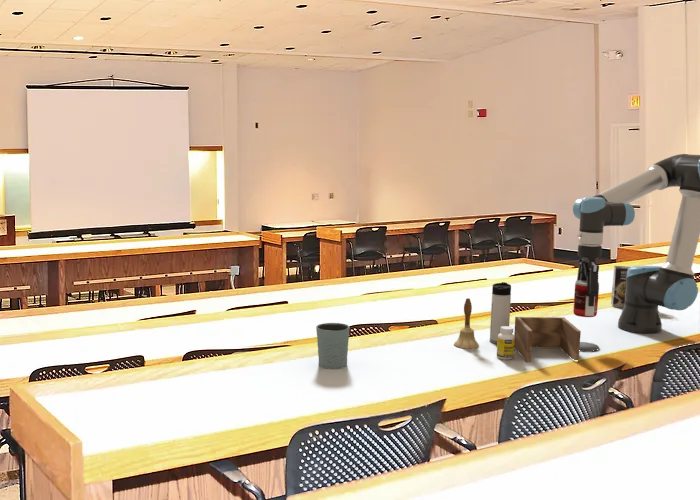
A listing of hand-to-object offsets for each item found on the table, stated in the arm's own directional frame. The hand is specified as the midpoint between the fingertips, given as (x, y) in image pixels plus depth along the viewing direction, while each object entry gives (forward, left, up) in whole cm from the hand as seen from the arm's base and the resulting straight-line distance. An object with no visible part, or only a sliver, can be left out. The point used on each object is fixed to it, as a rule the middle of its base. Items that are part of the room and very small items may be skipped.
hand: (585, 312), depth 287 cm
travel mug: (+27, -6, -12) cm, 30 cm away
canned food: (0, 0, -1) cm, 1 cm away
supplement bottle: (+29, +13, -12) cm, 34 cm away
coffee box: (-36, -64, -12) cm, 75 cm away
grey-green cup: (+84, +23, -12) cm, 88 cm away
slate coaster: (0, 0, -12) cm, 12 cm away
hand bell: (+39, -1, -12) cm, 41 cm away
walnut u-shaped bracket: (+15, +9, -12) cm, 21 cm away
